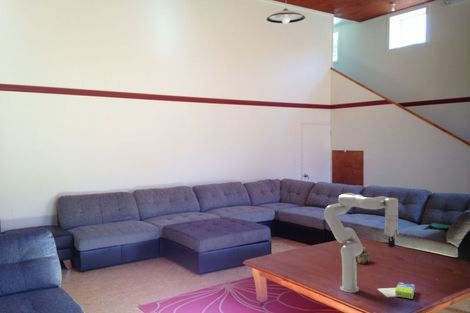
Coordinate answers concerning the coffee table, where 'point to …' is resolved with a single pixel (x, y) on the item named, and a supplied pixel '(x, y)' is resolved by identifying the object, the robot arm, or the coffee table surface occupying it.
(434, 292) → the coffee table surface
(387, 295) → the mat
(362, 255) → the miniature house
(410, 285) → the box
